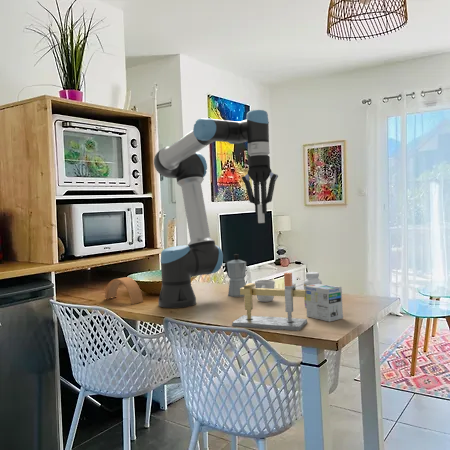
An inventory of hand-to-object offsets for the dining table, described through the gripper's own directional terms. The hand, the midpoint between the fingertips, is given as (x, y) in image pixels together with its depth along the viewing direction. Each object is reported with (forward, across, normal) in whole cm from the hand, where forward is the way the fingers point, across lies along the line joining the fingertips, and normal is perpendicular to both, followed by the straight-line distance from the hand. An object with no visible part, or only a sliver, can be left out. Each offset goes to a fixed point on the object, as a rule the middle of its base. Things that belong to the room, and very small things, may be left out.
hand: (261, 222), depth 161 cm
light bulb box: (+33, +21, 0) cm, 39 cm away
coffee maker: (+33, -24, +32) cm, 52 cm away
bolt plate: (+32, +6, -13) cm, 35 cm away
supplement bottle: (+33, +14, +15) cm, 39 cm away
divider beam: (+31, +6, -12) cm, 34 cm away
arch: (+33, -68, +10) cm, 76 cm away
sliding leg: (+31, +13, -11) cm, 35 cm away
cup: (+33, -7, +21) cm, 39 cm away
